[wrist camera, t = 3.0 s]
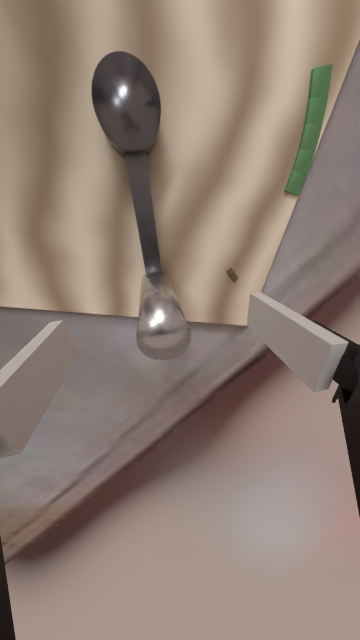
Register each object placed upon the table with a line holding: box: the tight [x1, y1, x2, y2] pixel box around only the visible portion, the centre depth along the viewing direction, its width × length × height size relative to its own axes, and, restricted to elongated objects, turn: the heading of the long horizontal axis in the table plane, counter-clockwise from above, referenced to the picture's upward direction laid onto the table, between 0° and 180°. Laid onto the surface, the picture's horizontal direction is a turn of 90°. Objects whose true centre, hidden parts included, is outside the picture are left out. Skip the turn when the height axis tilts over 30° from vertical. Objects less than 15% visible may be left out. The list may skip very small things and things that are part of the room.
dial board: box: [0, 0, 360, 326], centre depth 15 cm, size 34×34×2 cm
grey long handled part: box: [91, 51, 191, 360], centre depth 12 cm, size 17×4×11 cm, turn 5°
